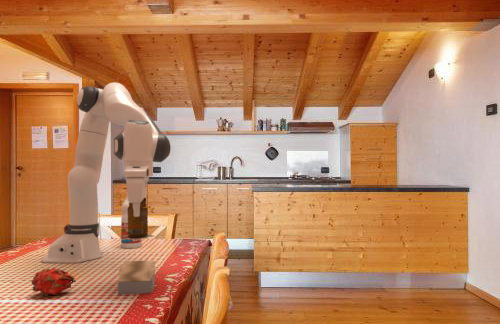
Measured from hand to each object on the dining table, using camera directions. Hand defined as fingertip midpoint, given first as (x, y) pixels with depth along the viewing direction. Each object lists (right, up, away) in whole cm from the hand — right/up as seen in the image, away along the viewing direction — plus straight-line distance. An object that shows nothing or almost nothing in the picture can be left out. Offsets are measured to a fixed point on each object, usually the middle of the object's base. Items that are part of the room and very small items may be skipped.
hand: (138, 214), depth 117 cm
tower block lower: (0, -23, -1) cm, 23 cm away
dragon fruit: (-24, -23, -6) cm, 34 cm away
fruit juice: (-22, -24, +62) cm, 70 cm away
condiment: (0, -7, -1) cm, 7 cm away
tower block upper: (0, -19, 0) cm, 19 cm away
